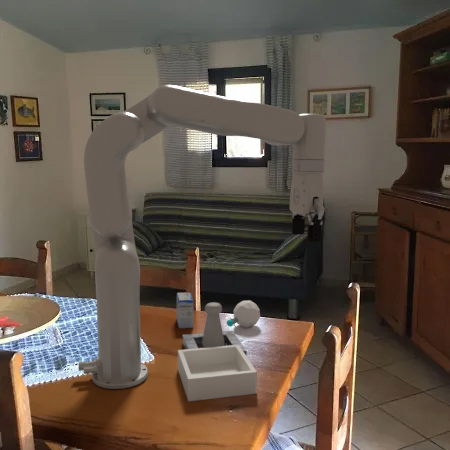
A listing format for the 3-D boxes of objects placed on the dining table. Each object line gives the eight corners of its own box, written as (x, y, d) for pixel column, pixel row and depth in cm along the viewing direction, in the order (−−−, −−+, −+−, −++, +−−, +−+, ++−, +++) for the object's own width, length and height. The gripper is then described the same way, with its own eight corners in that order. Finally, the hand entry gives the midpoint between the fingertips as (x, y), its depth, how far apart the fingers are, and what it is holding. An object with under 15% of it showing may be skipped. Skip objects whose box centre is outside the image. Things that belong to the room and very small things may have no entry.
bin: (188, 401, 102) (188, 379, 101) (177, 369, 116) (177, 350, 115) (256, 393, 105) (256, 371, 105) (238, 363, 120) (238, 344, 119)
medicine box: (176, 319, 150) (176, 292, 149) (190, 318, 151) (190, 291, 150) (178, 328, 143) (178, 300, 141) (193, 327, 144) (193, 299, 142)
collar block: (191, 365, 118) (191, 356, 118) (182, 343, 132) (182, 334, 132) (246, 360, 122) (246, 351, 121) (232, 339, 135) (232, 330, 135)
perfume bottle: (270, 315, 144) (243, 331, 136) (254, 325, 150) (227, 340, 141) (257, 292, 145) (229, 306, 137) (241, 302, 151) (214, 316, 143)
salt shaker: (221, 357, 123) (222, 308, 121) (199, 355, 125) (199, 306, 123) (226, 348, 129) (226, 301, 127) (205, 346, 130) (205, 299, 128)
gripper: (280, 165, 123) (279, 232, 126) (308, 168, 106) (305, 245, 109) (308, 165, 125) (306, 231, 127) (339, 168, 108) (336, 243, 111)
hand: (305, 237), depth 118 cm, fingers open, 9 cm apart
